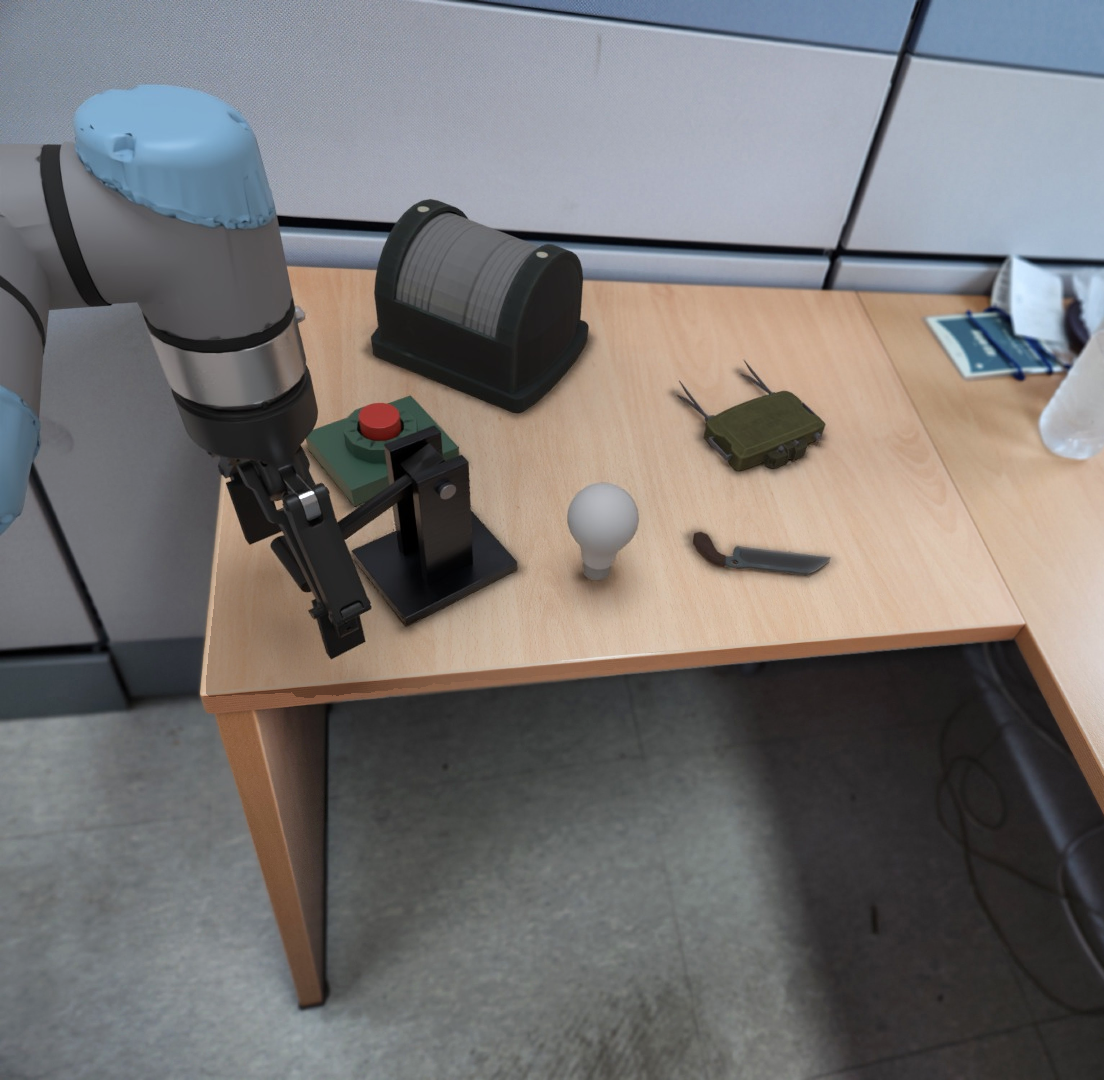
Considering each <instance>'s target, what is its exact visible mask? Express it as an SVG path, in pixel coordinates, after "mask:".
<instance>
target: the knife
mask: <svg viewBox="0 0 1104 1080" xmlns="http://www.w3.org/2000/svg"><path fill="white" fill-rule="evenodd" d="M692 539H693V540H692V543H693V545H694V546H695V548H696V549H697V550H698V551H699V553H700V554H701V555H702V556H703V557H704V559H706V560H707V561H709V562H710V563H711V564H713V565H716V566H718V567H723V568H725V567H726V568H730V569H734V570H735V569H736V570H743V569H745V570H746V569H750V570H751V569H752V570H760V571H768V572H775V573H785V574H793V575H802V576H807V575H810V574H812V573H815V572H817V571H818V570H820V569H821V568H822V567H824V566H825V565H827V564H828V563H829V562H830V560H832V559H831V558H832V557H831V556H825V555H823V556H822V555H816V554H808V553H798V552H791V551H782V550H774V549H765V548H757V547H750V546H749V547H747V546H740V545H736V546H734V548H733V551H732V555H726V554H723V553H721V552H719V551H718V549H716V547H715V545H714V543H713V541H712V539H711V538H710V536H709V534H708V533H705V532H702V531H698V532H694V533H693V535H692ZM734 562H735V563H736V564H734Z"/></svg>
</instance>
